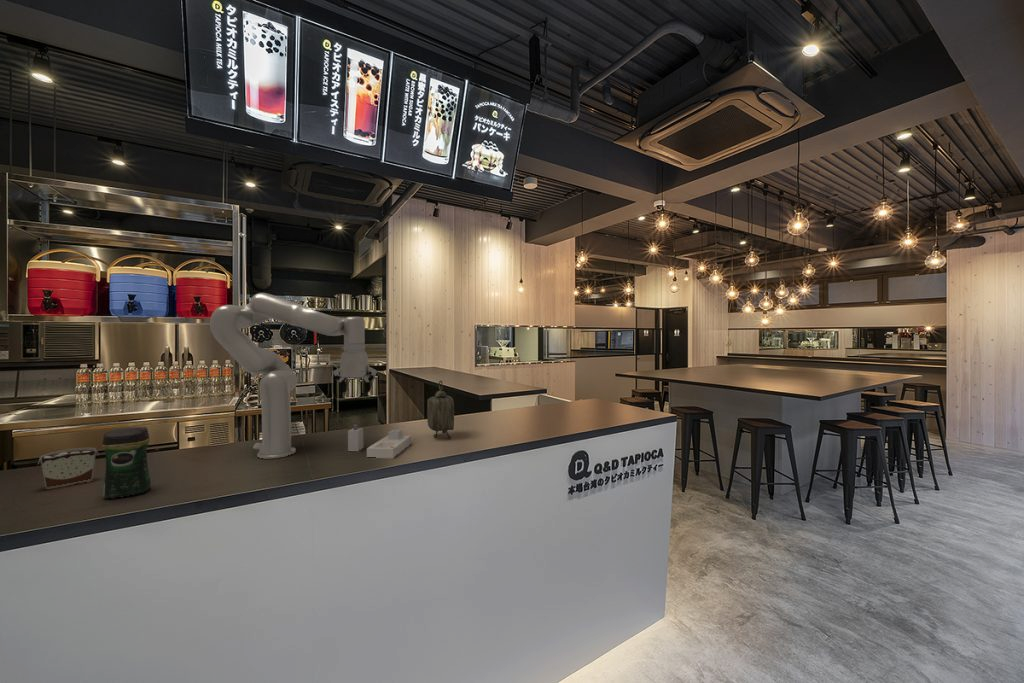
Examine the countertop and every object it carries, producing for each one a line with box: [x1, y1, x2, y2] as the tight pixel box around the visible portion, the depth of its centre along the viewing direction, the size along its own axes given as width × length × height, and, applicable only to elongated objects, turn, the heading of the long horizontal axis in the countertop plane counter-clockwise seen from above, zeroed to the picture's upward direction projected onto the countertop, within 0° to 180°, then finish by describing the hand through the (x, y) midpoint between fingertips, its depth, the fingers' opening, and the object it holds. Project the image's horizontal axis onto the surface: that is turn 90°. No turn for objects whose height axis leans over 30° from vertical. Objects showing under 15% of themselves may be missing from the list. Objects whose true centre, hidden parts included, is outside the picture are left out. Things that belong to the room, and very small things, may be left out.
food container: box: [37, 447, 99, 487], centre depth 124 cm, size 12×6×10 cm, turn 141°
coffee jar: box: [101, 426, 152, 499], centre depth 116 cm, size 10×8×19 cm
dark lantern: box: [426, 380, 455, 440], centre depth 180 cm, size 14×9×25 cm, turn 22°
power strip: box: [366, 428, 412, 459], centre depth 159 cm, size 10×20×6 cm, turn 175°
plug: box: [347, 423, 364, 452], centre depth 160 cm, size 4×5×10 cm
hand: (355, 392), depth 160 cm, fingers open, 9 cm apart
